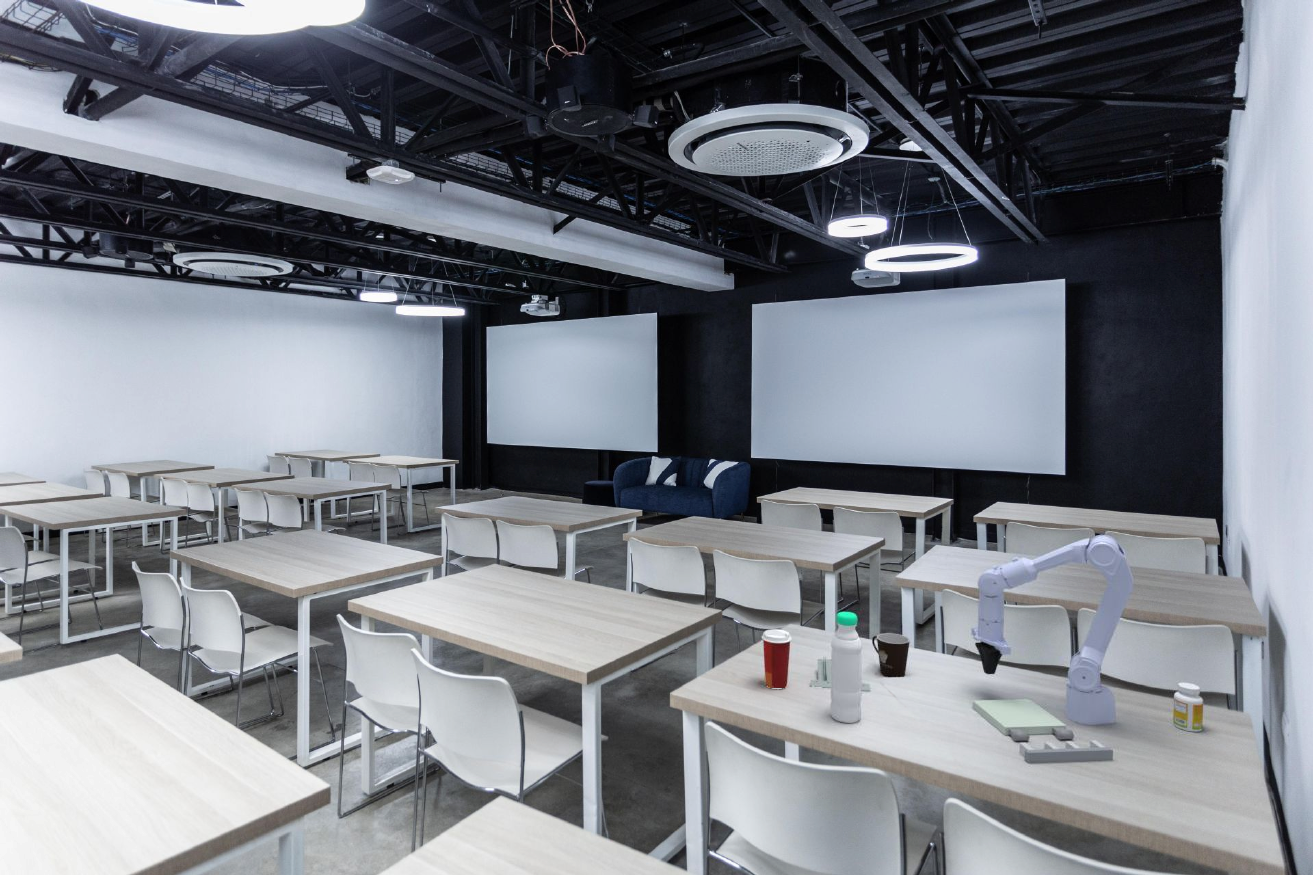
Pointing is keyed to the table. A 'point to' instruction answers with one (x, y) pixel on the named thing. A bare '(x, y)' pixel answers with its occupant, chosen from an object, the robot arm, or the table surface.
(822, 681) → the metal bracket
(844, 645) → the water bottle
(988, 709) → the door
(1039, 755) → the jig board
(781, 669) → the paper cup
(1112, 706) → the robot arm
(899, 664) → the coffee mug
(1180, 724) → the supplement bottle
